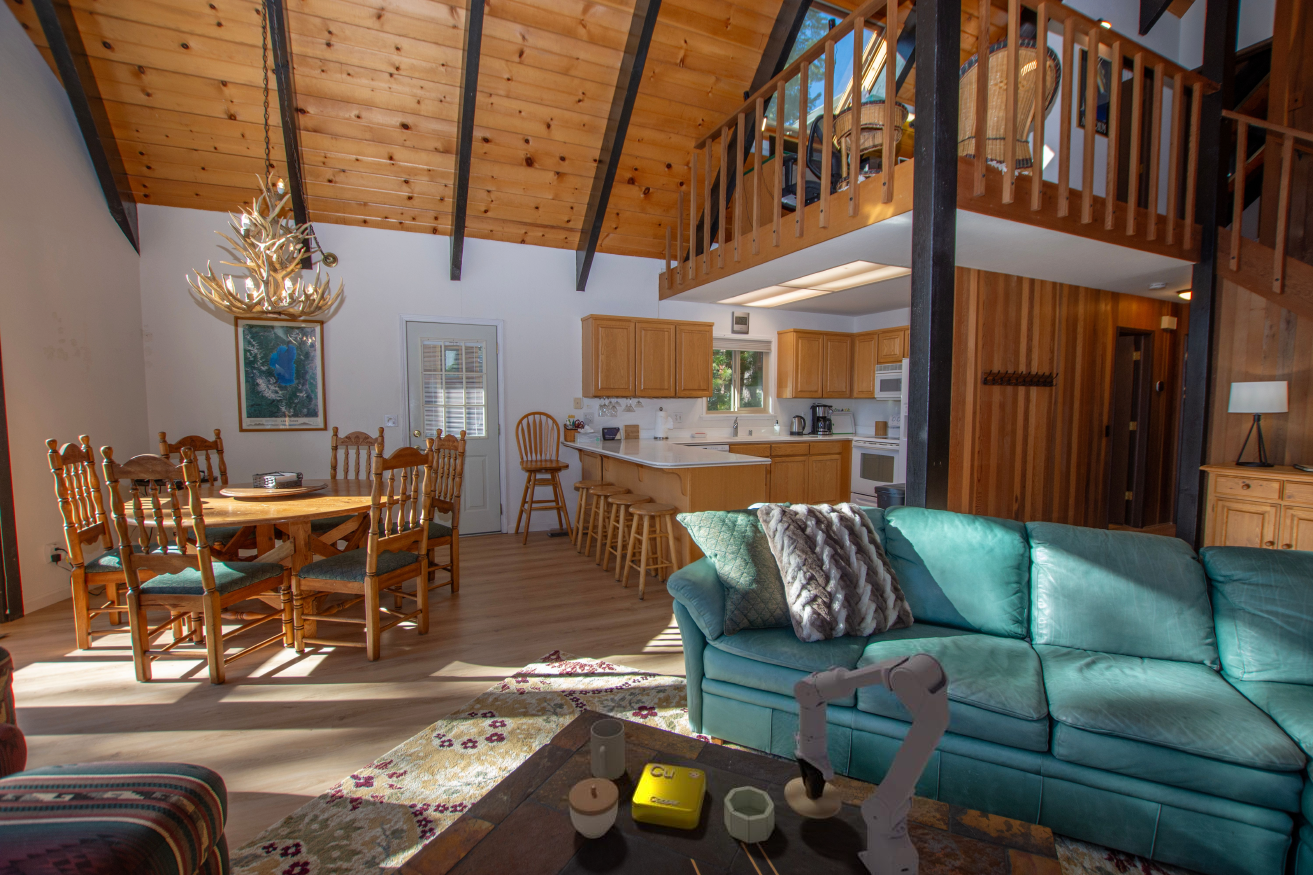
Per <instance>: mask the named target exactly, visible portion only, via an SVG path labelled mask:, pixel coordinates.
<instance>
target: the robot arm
mask: <svg viewBox="0 0 1313 875" xmlns="http://www.w3.org/2000/svg"><path fill="white" fill-rule="evenodd" d="M949 681H950V678H949V677H948V675H947V672H946V671H945V669H944V667H943V665H942V663H941V662H940V661H939V660H938V659H937V658H936V657H935V656H933V655H932V654H930V653H928V652H918V653H916V654H914V655H913V656H912V654H905V655H901V656H896V657H893V658H889V659H885V660H882V661H879V662H877V663H876V662H875V663H873V664H869V665H866V666H864V667H861V668H858V669H854V670H851V671H850V670H849V669H848V668H846V667H845V666H844V667H837V665H832V666H829V667H828V668H827V670H826V671H822V672H819V671H817V670H816V671H814V672H812V673H811V674H809V675H807V676H805V677H803V678H802V679H799V680H798V681H797V682H796V683H794V686H793V695H794V698H795V700H796V702H797V704H798V731H796V732H793V740H792V741H793V742H794V743H795V744H796V746H797V749H795V750H794V751H793V756H794V757H795V759H796V762H797V764H798V765H797V766H798V767H799V772H800V775H801V776H800V777H802V780H803V784H804V786H805V787H806V777H807V776H808V778H809V782H810V791H811V795H812V797H813V798H819V797H822V794H823V790H824V787H825V784H826V782H827V781H832V780H835V770H834V768H833V767H832V764H831V759H830V756H829V754H828V753H829V752H828V750H827V707H828V703H829V702H833V701H837V700H841V699H846V698H851V697H852V696H854V694H856V693H855V692H856V689H861V688H865V687H872V686H876V685H883V686H884V688H886V690H887V691H888V692H890V693H892V692H894V694H895V696H896V697H897V699H899V701H900V702H901V703H902V705H903V706H904V707H905V709H907V712H908V713H909V714H910V715H911V717H913V719H914V720H913V722H912V724H911V726H910V728H909V730H908V732H907V734H906V735H905V738H904V739H903V741H902V743H901V745H900V746H899V749H898V750H897V753H896V755H895V756H894V757H895V758H894V759H893V761H892V763H891V765H890V766H889V768H888V771H887V772H886V774H885V777H884V778H883V780H882V781H881V783H880V784H879V785H878V786H877V787H876V788H875V790H874V792H873V793H872V794H870V796H869V797H867V798H865V799H864V800H863V801H862V802H861V805H860V811H861V816H862V818H863V820H864V822H865V824H866V826H867V832H866V834H867V835H866V836H867V837H866V838H867V840H866V841H867V842H866V843H867V844H866V845H867V850H863V851H859V852H857V856H858V857H859V859H860V861H862V863H863V864H864V866H865V868H867V870H868V872H869V873H870V874H871V875H919V866H920V865H919V864H920V862H919V859H920V858H919V852H918V850H917V849H916V847H915V846H914V844H913V843H912V841H911V839H910V835H909V832H908V814H909V813H911V811H912V810H913V807H914V795H915V793H916V788H915V786H916V785H917V783H918V781H919V779H920V777H921V776H922V774H923V772H924V771H925V768H926V766H927V764H928V762H929V761H930V759H931V757H932V756H933V754H934V751H935V750H936V748H937V746H938V744H939V743H940V741H941V739H942V737H943V736H944V733H945V731H946V730H947V728H948V726H949V723H950V719H951V717H950V707H949V697H948V687H949Z"/></svg>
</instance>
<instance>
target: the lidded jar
mask: <svg viewBox="0 0 1313 875" xmlns="http://www.w3.org/2000/svg"><path fill="white" fill-rule="evenodd" d="M568 803H569V813H570V818H571V823H572V824H573V826H574V827H575V829H576V830H577V831H578V832H579V833H580V834H581V835H582V836H583V837H585V838H588V839H598V838H601V837H603V836H604V835H606V833H607V832H608V831H609V830H610V829H611V827H612V826H613V824H614V823H615V821H616V818H617V814H618V808H619V788H618V786H617V785H616V784H615V783H614V782H613V781H612V780H611V781H609V780H607V779H603V778H595V777H591V778H586V779H584V780H581V781H578V782H577V784H575V785H573V787H572V788H571V789H570V791H569V794H568Z"/></svg>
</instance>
